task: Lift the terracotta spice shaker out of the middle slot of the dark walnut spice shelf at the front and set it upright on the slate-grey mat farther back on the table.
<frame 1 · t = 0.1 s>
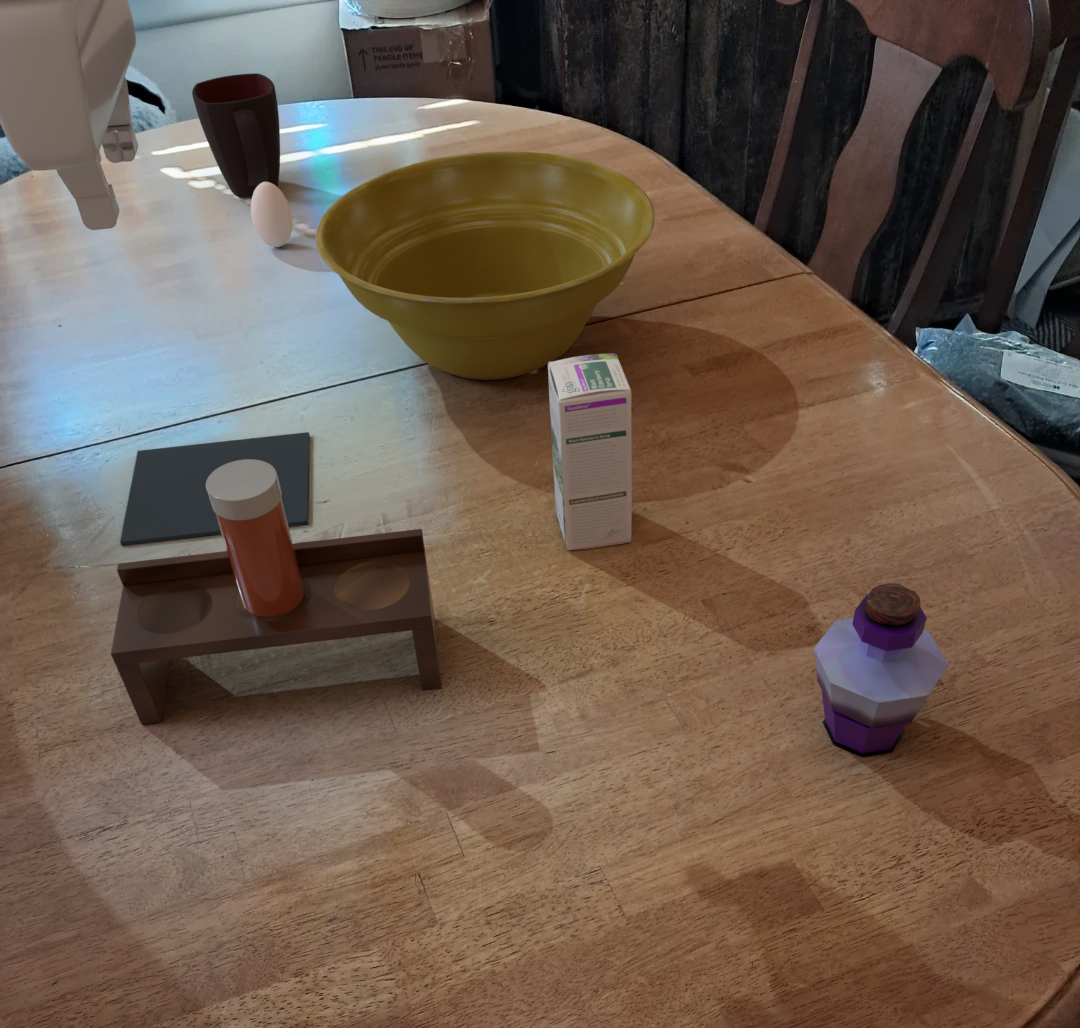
hand: (114, 189, 67), 34 cm above the table, tool pointing down, fingers open, 8 cm apart
mat: (220, 487, 104), on the table
cup: (258, 195, 148), on the table
shaker: (273, 596, 82), point 7 cm above the table, touching spice shelf
planter bowl: (494, 348, 119), on the table
syrup box: (592, 529, 98), on the table
egg: (278, 247, 138), on the table
potion bottle: (863, 729, 81), on the table
spice shelf: (293, 669, 87), on the table
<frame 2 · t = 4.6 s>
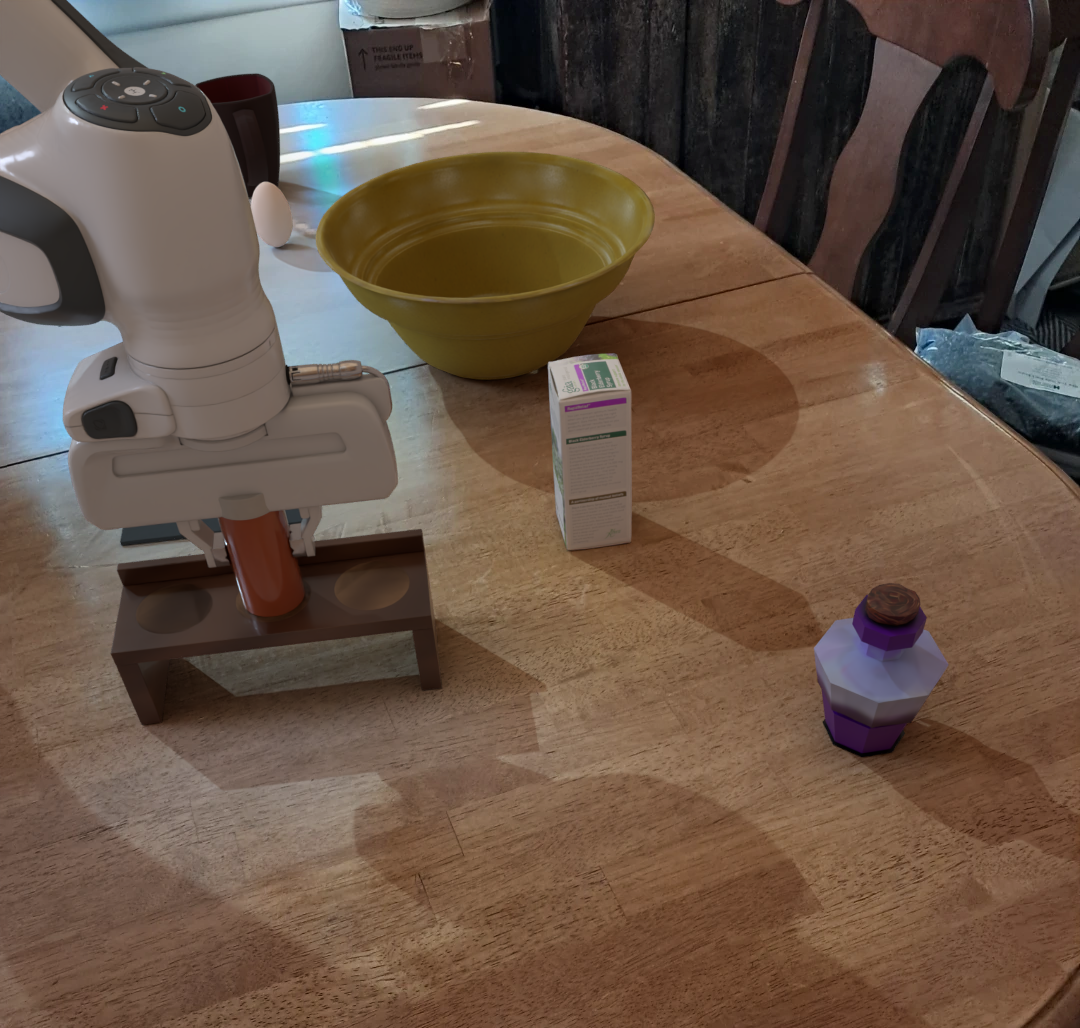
hand: (262, 556, 79), 11 cm above the table, tool pointing down, fingers closed on shaker, 4 cm apart
shaker: (274, 596, 82), point 7 cm above the table, touching gripper, spice shelf
everything else where it was.
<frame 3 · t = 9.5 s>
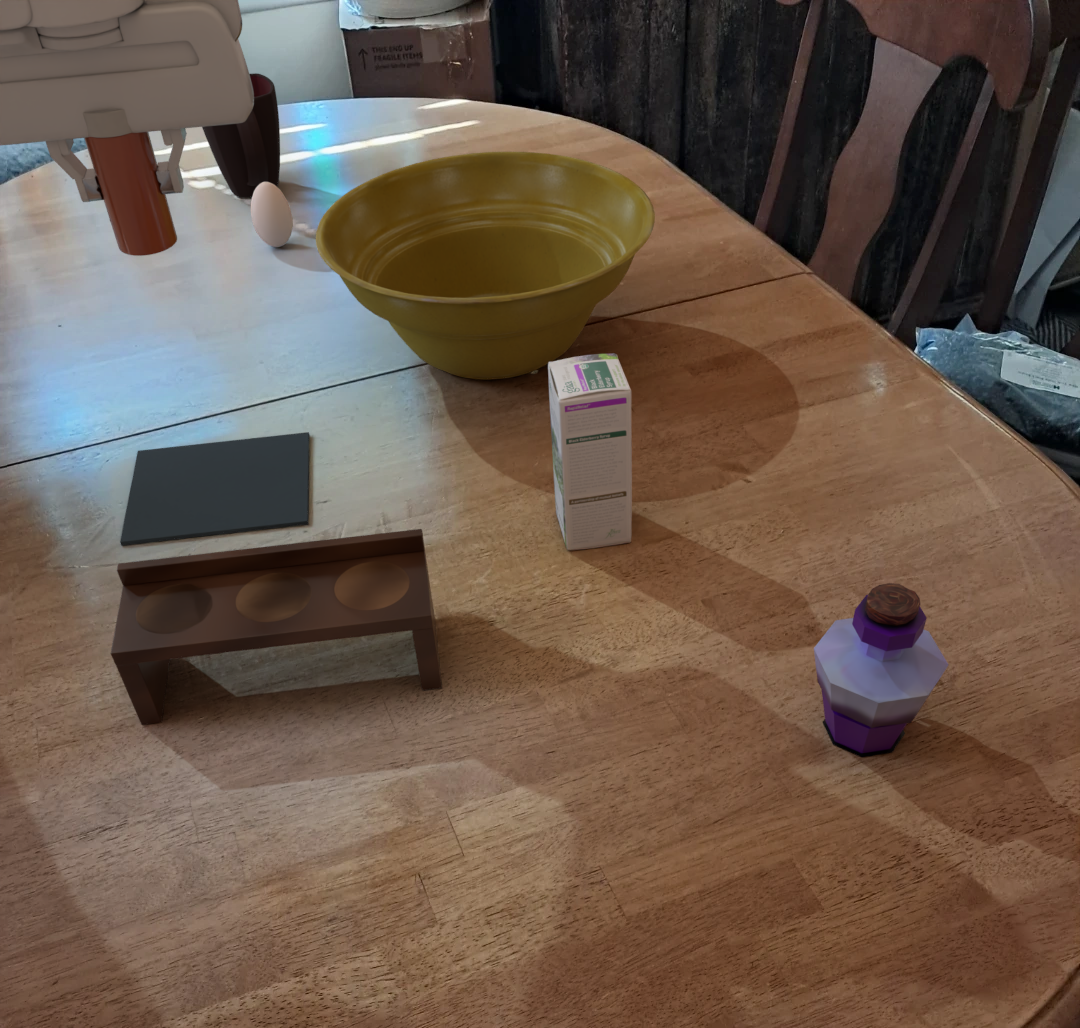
hand: (133, 194, 85), 26 cm above the table, tool pointing down, fingers closed on shaker, 4 cm apart
shaker: (148, 242, 87), point 22 cm above the table, touching gripper
everything else where it was.
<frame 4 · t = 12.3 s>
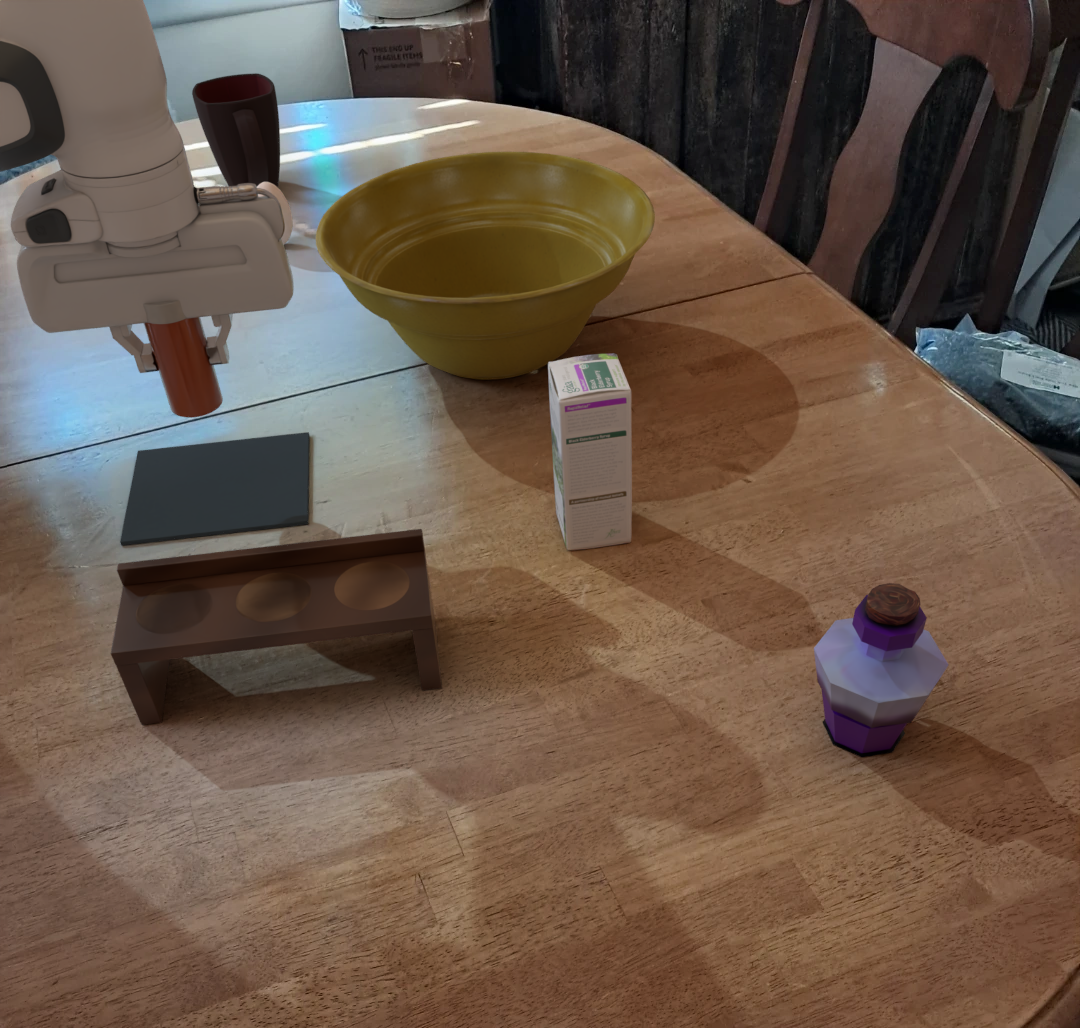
hand: (184, 365, 95), 12 cm above the table, tool pointing down, fingers closed on shaker, 4 cm apart
shaker: (196, 403, 98), point 9 cm above the table, touching gripper
everything else where it was.
when the fingers open (4 cm above the table, at t = 14.6 s): shaker stays where it is, resting on mat.
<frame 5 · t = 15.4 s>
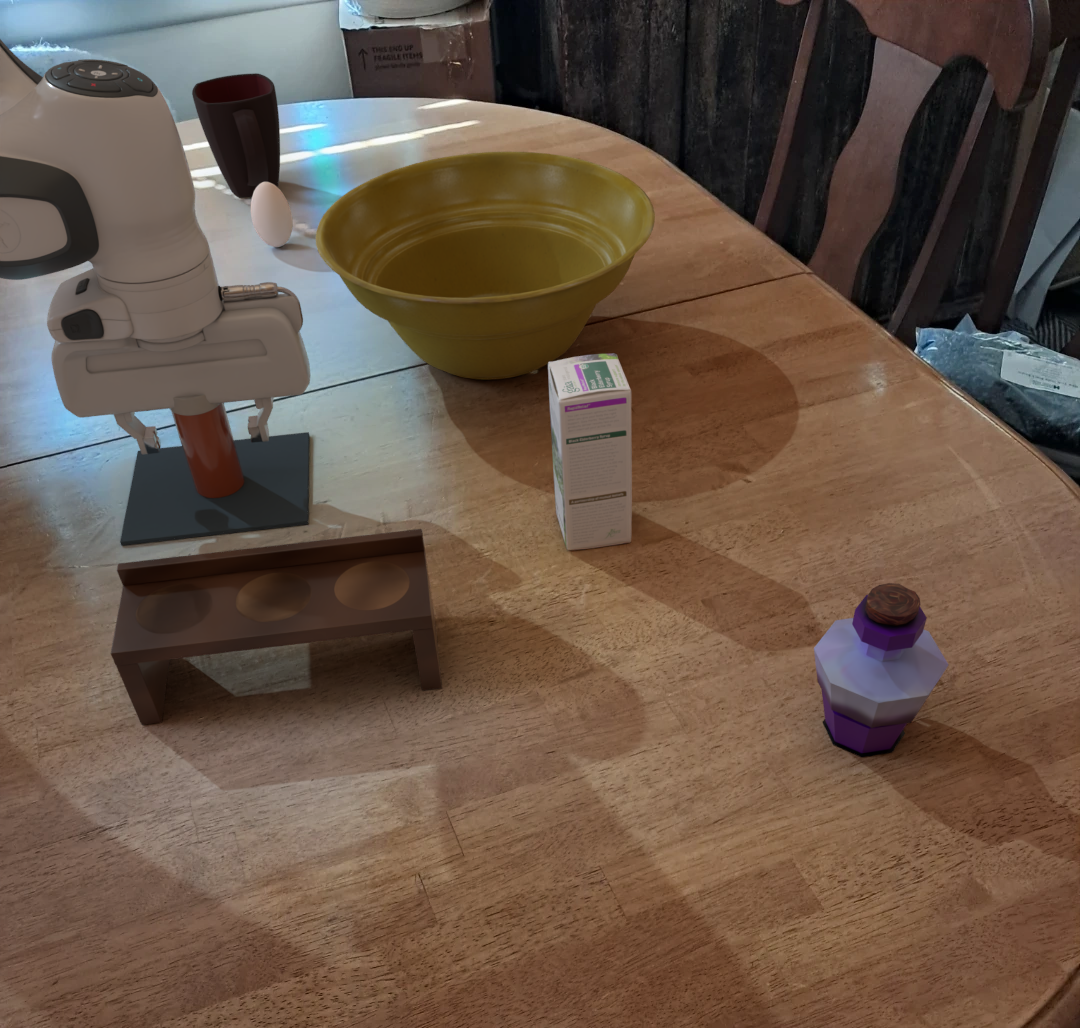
hand: (206, 444, 100), 5 cm above the table, tool pointing down, fingers open, 8 cm apart
shaker: (220, 483, 103), resting on mat
everything else where it was.
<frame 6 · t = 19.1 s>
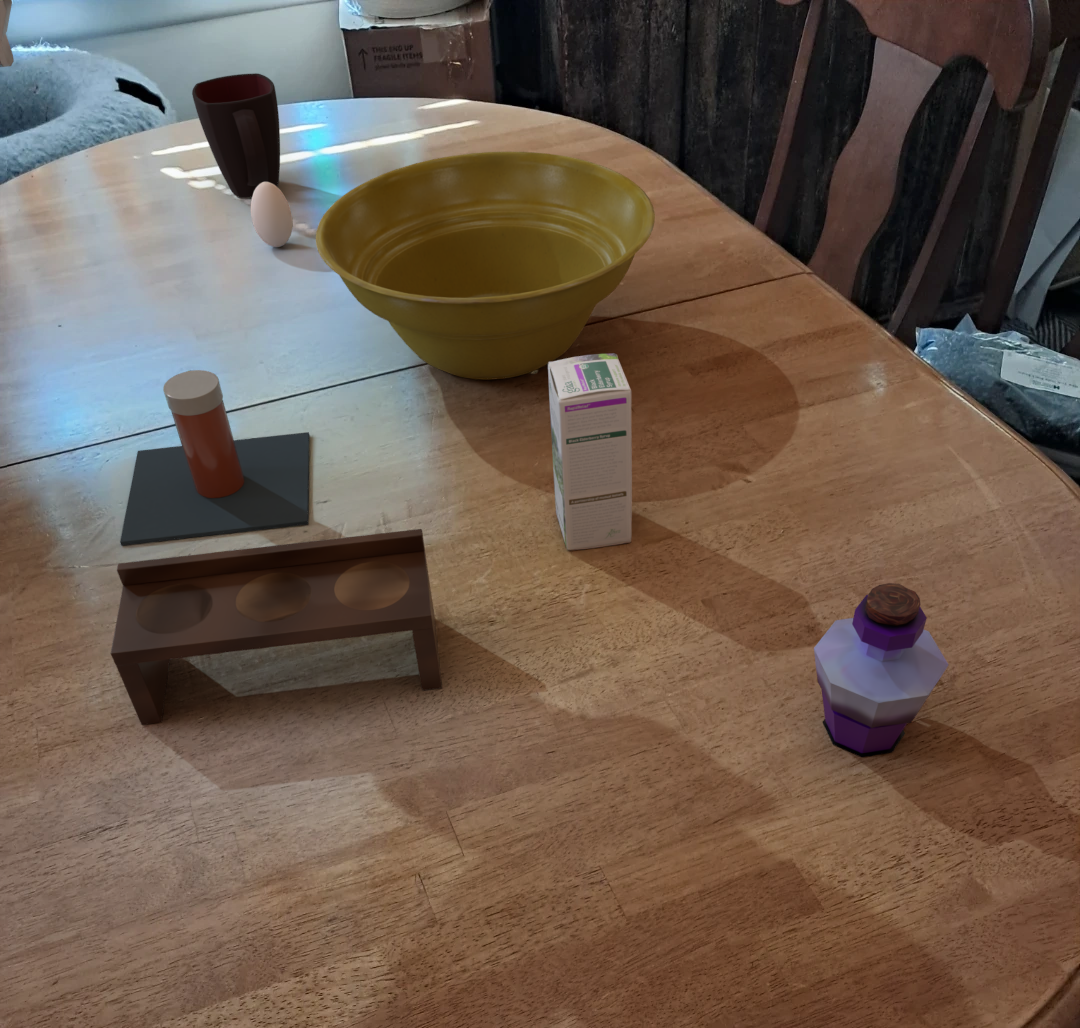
nothing on the table moved.
at the end: shaker inside the target area on the mat (0.1 cm from its centre), point 0.4 cm above the mat's base; shaker tilted 0°; the gripper is holding nothing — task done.
